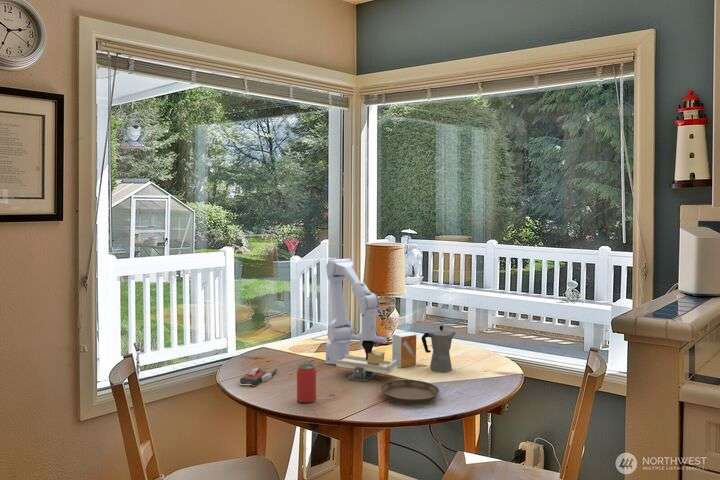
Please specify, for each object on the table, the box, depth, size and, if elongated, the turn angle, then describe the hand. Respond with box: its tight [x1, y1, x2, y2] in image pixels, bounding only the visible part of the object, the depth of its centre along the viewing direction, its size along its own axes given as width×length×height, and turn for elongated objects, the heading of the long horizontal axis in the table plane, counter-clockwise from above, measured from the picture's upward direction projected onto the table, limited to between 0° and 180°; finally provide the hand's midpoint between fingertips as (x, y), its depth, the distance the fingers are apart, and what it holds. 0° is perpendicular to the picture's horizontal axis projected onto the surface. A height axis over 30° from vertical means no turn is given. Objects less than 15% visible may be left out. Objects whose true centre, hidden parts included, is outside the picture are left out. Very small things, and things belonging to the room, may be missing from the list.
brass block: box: [367, 349, 386, 366], centre depth 234 cm, size 5×5×5 cm
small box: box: [391, 331, 417, 369], centre depth 251 cm, size 8×6×13 cm
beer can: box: [296, 363, 317, 403], centre depth 207 cm, size 7×7×12 cm
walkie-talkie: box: [239, 367, 278, 387], centre depth 232 cm, size 9×4×20 cm
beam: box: [335, 354, 398, 375], centre depth 236 cm, size 22×9×3 cm, turn 68°
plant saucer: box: [380, 379, 440, 406], centre depth 212 cm, size 21×21×3 cm
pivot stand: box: [347, 367, 379, 383], centre depth 236 cm, size 8×15×4 cm, turn 158°
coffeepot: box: [421, 325, 457, 373], centre depth 244 cm, size 15×9×18 cm, turn 110°
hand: (368, 359), depth 235 cm, fingers closed, pressing on brass block
